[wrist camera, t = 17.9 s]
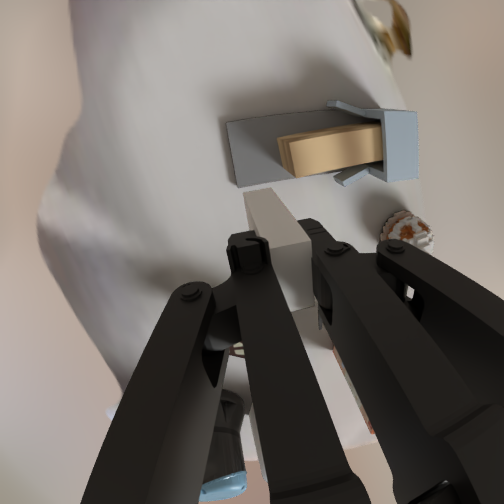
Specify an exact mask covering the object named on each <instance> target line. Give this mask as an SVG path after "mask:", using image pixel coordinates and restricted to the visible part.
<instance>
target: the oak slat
mask: <svg viewBox="0 0 504 504" xmlns="http://www.w3.org/2000/svg"><path fill="white" fill-rule="evenodd" d="M277 142H278V146H279V151H280V155H281V160H282V165H283V168H284V169H285V170H287V171H288V172H289V173H290V174H292V175H293V176H294V177H295V178H299V177H304V176H308V175H312V174H317V173H321V172H326V171H330V170H335V169H340V168H344V167H349V166H354V165H359V164H364V163H369V162H374V161H380V160H383V140H382V125H381V122H374V121H372V122H364V123H357V124H350V125H343V126H337V127H331V128H325V129H319V130H313V131H308V132H303V133H298V134H293V135H288V136H283V137H279V138H277Z"/></svg>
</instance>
